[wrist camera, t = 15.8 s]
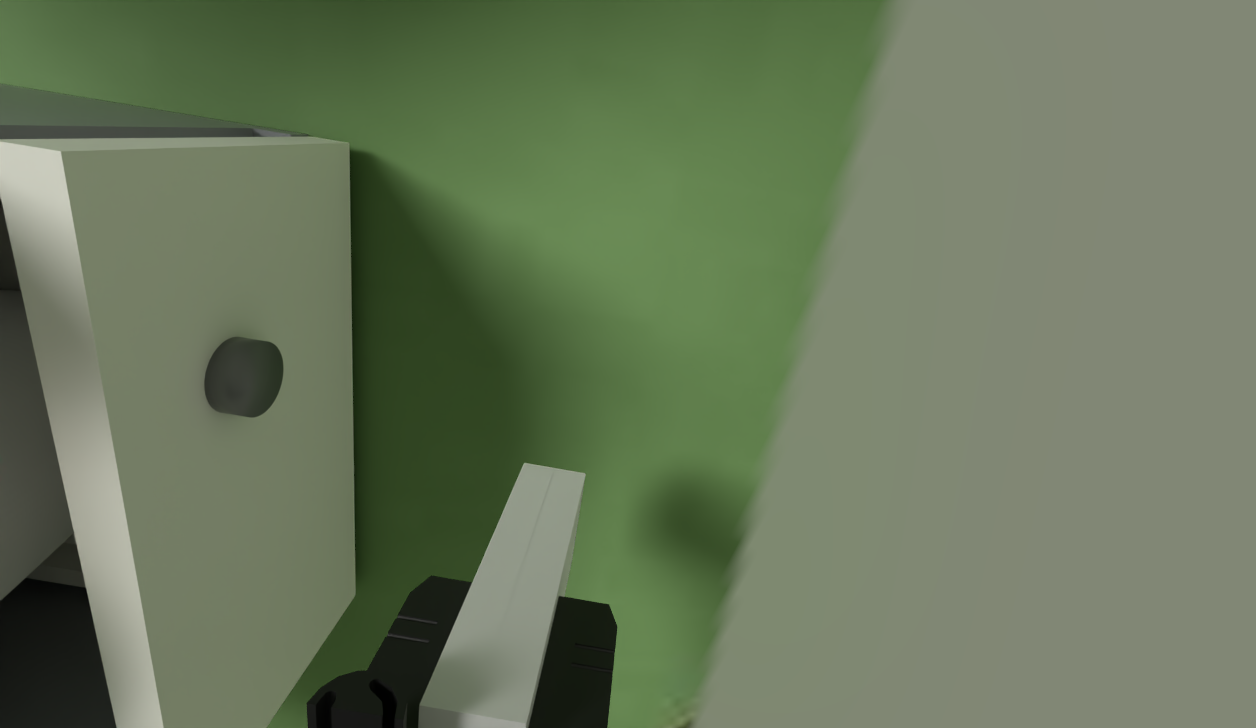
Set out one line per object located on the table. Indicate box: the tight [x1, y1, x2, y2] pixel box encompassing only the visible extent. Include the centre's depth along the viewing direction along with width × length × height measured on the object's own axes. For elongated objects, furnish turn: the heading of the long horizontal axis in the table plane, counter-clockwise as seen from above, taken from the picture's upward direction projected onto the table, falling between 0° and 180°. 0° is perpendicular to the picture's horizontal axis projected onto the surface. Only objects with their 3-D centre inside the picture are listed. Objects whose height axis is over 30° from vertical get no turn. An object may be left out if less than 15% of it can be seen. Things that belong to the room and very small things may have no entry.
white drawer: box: [0, 137, 356, 728], centre depth 15 cm, size 14×15×8 cm
